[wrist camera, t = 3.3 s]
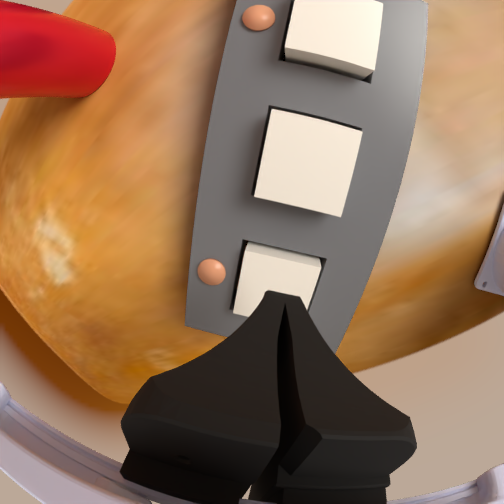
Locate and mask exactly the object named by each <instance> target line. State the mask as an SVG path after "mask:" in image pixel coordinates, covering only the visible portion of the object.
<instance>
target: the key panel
mask: <svg viewBox="0 0 504 504" xmlns="http://www.w3.org/2000/svg"><path fill="white" fill-rule="evenodd" d="M294 1H295V0H237V1H236V5H235V9H234V12H233V16H232V20H231V24H230V28H229V32H228V36H227V40H226V44H225V49H224V53H223V57H222V62H221V66H220V71H219V75H218V80H217V85H216V90H215V95H214V100H213V105H212V110H211V116H210V121H209V127H208V132H207V138H206V144H205V150H204V156H203V163H202V169H201V176H200V183H199V190H198V197H197V205H196V212H195V220H194V229H193V237H192V247H191V256H190V266H189V277H188V288H187V300H186V314H185V326H188V327H191V328H195V329H199V330H202V331H206V332H210V333H214V334H218V335H222V336H226V337H229V336H230V335H231V334H232V333H233V332H234V331H236V330H237V329H238V328H239V327H240V326H241V325H242V324H243V323H244V322H245V321H246V319H247V318H248V317H247V316H243V315H239V314H235V313H233V310H234V305H235V299H236V294H237V284H238V279H239V274H240V269H241V264H242V258H243V253H244V248H245V243H246V240H249V241H253V242H258V243H262V244H266V245H271V246H275V247H280V248H284V249H288V250H293V251H297V252H301V253H306V254H310V255H314V256H319V259H320V263H321V270H320V273H319V277H318V280H317V283H316V286H315V288H314V291H313V294H312V297H311V300H310V303H309V306H308V309H307V311H308V313H309V315H310V317H311V319H312V320H313V322H314V324H315V326H316V327H317V329H318V331H319V332H320V334H321V336H322V337H323V339H324V340H325V341H326V343H327V344H328V346H329V347H330V349H331V350H332V351H333V352H334V354H335V353H336V351H337V349H338V347H339V345H340V343H341V340H342V338H343V336H344V334H345V332H346V330H347V328H348V326H349V323H350V321H351V319H352V317H353V315H354V312H355V310H356V308H357V306H358V303H359V301H360V299H361V296H362V294H363V291H364V289H365V287H366V284H367V282H368V279H369V277H370V274H371V271H372V269H373V266H374V264H375V261H376V258H377V256H378V253H379V250H380V247H381V245H382V242H383V239H384V236H385V233H386V230H387V227H388V224H389V221H390V218H391V215H392V212H393V208H394V205H395V202H396V198H397V195H398V192H399V188H400V185H401V181H402V177H403V173H404V170H405V166H406V162H407V158H408V154H409V149H410V145H411V141H412V136H413V131H414V126H415V121H416V116H417V111H418V105H419V99H420V93H421V86H422V79H423V71H424V63H425V53H426V41H427V25H428V3H426V2H424V1H422V0H375V1H378V2H381V3H383V12H382V21H381V30H380V38H379V45H378V52H377V59H376V65H375V71H373V72H372V73H371V74H369V75H368V76H367V77H365V78H364V79H363V80H361V81H360V80H357V79H354V78H351V77H347V76H344V75H340V74H337V73H333V72H329V71H326V70H322V69H318V68H313V67H309V66H304V65H300V64H295V63H290V62H284V61H282V60H283V55H284V50H285V43H286V38H287V34H288V29H289V24H290V20H291V15H292V10H293V6H294ZM272 109H275V110H280V111H285V112H290V113H295V114H299V115H303V116H308V117H312V118H316V119H320V120H324V121H328V122H331V123H335V124H338V125H342V126H345V127H349V128H352V129H356V130H359V131H362V132H363V133H362V137H361V142H360V146H359V150H358V155H357V159H356V163H355V167H354V171H353V175H352V179H351V182H350V186H349V190H348V194H347V197H346V201H345V205H344V208H343V212H342V215H341V217H338V216H334V215H330V214H326V213H322V212H318V211H314V210H310V209H306V208H302V207H297V206H293V205H289V204H284V203H280V202H276V201H271V200H267V199H262V198H257V197H254V195H255V190H256V185H257V180H258V175H259V170H260V165H261V160H262V155H263V150H264V145H265V140H266V135H267V130H268V125H269V120H270V115H271V110H272Z"/></svg>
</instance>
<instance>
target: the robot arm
mask: <svg viewBox="0 0 504 504" xmlns="http://www.w3.org/2000/svg"><path fill="white" fill-rule="evenodd" d="M483 283H484V284H483ZM474 285H475V287H476V288H477V289H480V290H484V291H488V292H491V293H495V294H498V295H502V296H504V204H503V207H502V211H501V214H500V217H499V220H498V223H497V226H496V229H495V232H494V235H493V238H492V240H491V243H490V246H489V248H488V251H487V253H486V256H485V258H484V261H483V263H482V265H481V268H480V270H479V272H478V275H477V277H476V279H475V282H474ZM121 428H122V430H123V433H124V436H125V438H126V441H127V443H128V446H129V448H130V450H129V452H128V454H127V456H126V458H125V460H124V463H123V464H122V463H120V462H117V461H115V460H113V459H111V458H109V457H106V456H104V455H102V454H100V453H98V452H96V451H94V450H92V449H90V448H88V447H86V446H84V445H83V444H81V443H79V442H77V441H75V440H74V439H72V438H70V437H68V436H67V435H65V434H63V433H61V432H60V431H58V430H57V429H55V428H54V427H52V426H50V425H48V424H47V423H46V422H44V421H43V420H41V419H40V418H38V417H37V416H35V415H34V414H33V413H31V412H30V411H28V410H27V409H26V408H24V407H23V406H22V405H20V404H19V403H17V402H16V401H15V400H14V399H12V398H11V395H10V393H9V392H8V390H7V388H6V387H5V386H4V384H3V383H2V382H1V381H0V469H1V470H2V471H3V472H4V473H5V474H6V475H8V476H9V477H10V478H11V479H12V480H13V481H15V482H16V483H17V484H18V485H19V486H20V487H22V488H23V489H24V490H25V491H27V492H28V493H29V494H31V495H32V496H33V497H34V498H36V499H37V500H39V501H40V502H41V503H43V504H152V503H151V501H154V502H157V503H160V504H504V463H502V464H500V465H498V466H495V467H493V468H491V469H489V470H488V471H486V472H485V473H483V474H482V475H481V476H479V477H478V478H477V479H476V480H473V481H471V482H468V483H465V484H462V485H458V486H455V487H451V488H448V489H445V490H441V491H437V492H433V493H428V494H424V495H419V496H415V497H409V498H404V499H398V500H392V501H387V499H386V489H385V488H386V487H388V486H389V485H390V477H389V474H391V473H392V472H393V471H395V470H396V469H397V468H399V467H400V466H401V465H402V464H404V463H405V462H406V461H407V460H408V459H409V458H410V457H411V456H412V455H413V454H414V452H415V450H416V448H417V443H416V439H415V434H414V430H413V427H412V423H411V420H410V417H408V416H407V415H405V414H404V413H402V412H401V411H399V410H397V409H396V408H394V407H393V406H391V405H389V404H388V403H386V402H385V401H384V400H382V399H381V398H380V397H379V396H377V395H376V394H374V393H373V392H372V391H371V390H369V389H368V388H367V387H366V386H365V385H364V384H363V383H362V382H361V381H359V380H358V379H357V378H356V377H355V376H354V375H353V374H352V373H351V372H350V371H349V370H348V369H347V368H346V367H345V365H344V364H343V363H342V362H341V361H340V360H339V358H338V357H337V356H336V355H335V354H334V352H333V351H332V350H331V349H330V347H329V346H328V344H327V343H326V341H325V340H324V339H323V337H322V336H321V334H320V332H319V331H318V329H317V327H316V326H315V324H314V322H313V320H312V319H311V317H310V315H309V313H308V311H307V309H306V307H305V305H304V303H303V301H302V299H301V298H300V297H299V296H295V295H290V294H285V293H280V292H276V291H271V290H267V291H266V292H265V293H264V296H263V298H262V300H261V302H260V303H259V305H258V306H257V307H256V309H255V310H254V311H253V312H252V314H251V315H250V316H249V317H248V318H247V319H246V321H245V322H244V323H243V324H242V325H241V326H240V327H239V328H238V329H237V330H236V331H234V332H233V333H232V334H231V335H230V336H229V337H227V338H226V339H225V340H224V341H222V342H221V343H220V344H218V345H217V346H215V347H214V348H212V349H211V350H209V351H208V352H206V353H205V354H203V355H201V356H199V357H197V358H195V359H193V360H191V361H189V362H188V363H186V364H184V365H181V366H179V367H177V368H174V369H172V370H169V371H166V372H164V373H161V374H158V375H155V376H152V377H150V378H149V379H148V380H147V382H146V383H145V384H144V385H143V386H142V387H141V389H140V390H139V391H138V393H137V394H136V395H135V396H134V398H133V399H132V401H131V403H130V404H129V407H128V408H127V410H126V412H125V414H124V416H123V418H122V420H121ZM251 484H252V485H251ZM250 486H251V490H250V494H249V498H248V500H247V499H242V497H243V496H244V494H245V493H246V491H247V490H248V489H249V487H250ZM145 498H146V499H145ZM150 500H151V501H150Z"/></svg>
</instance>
